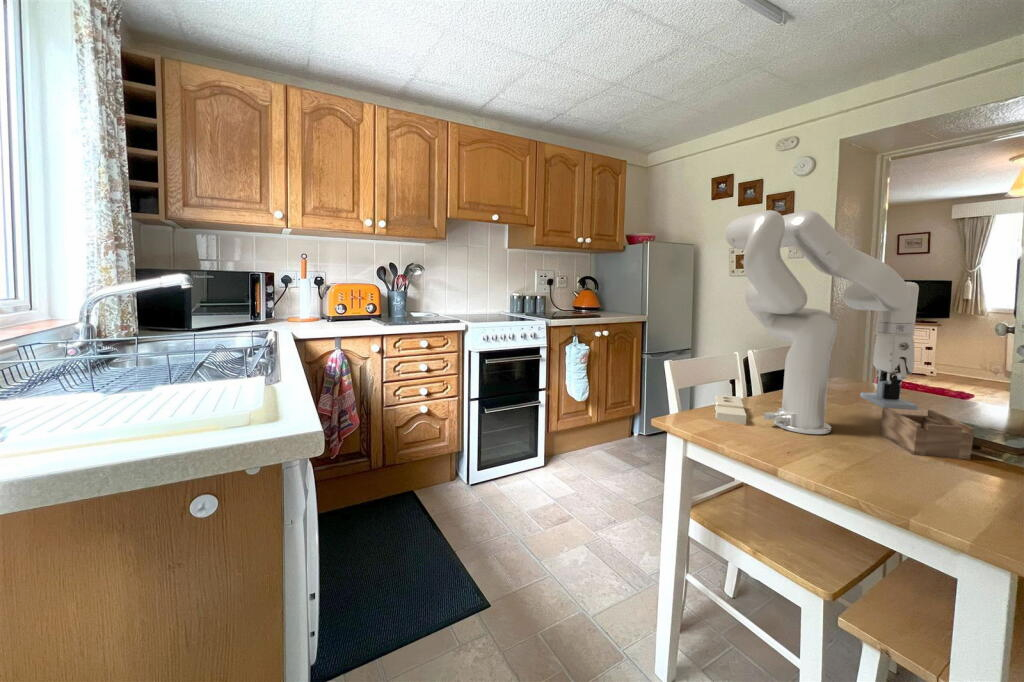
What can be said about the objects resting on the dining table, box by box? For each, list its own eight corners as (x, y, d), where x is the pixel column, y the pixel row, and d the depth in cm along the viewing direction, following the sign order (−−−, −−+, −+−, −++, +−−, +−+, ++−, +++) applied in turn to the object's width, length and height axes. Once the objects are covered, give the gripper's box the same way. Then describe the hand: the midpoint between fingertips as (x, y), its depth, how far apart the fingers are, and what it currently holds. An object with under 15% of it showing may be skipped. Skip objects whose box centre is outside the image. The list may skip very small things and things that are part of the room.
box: (970, 459, 92) (974, 428, 91) (913, 454, 95) (917, 424, 94) (928, 437, 106) (931, 410, 105) (879, 433, 108) (882, 407, 108)
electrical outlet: (717, 409, 118) (715, 394, 135) (716, 423, 119) (714, 406, 135) (746, 412, 115) (741, 396, 132) (745, 426, 116) (740, 409, 132)
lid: (917, 410, 108) (919, 388, 107) (882, 408, 110) (885, 386, 109) (890, 398, 119) (893, 378, 119) (860, 396, 121) (862, 376, 121)
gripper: (932, 332, 103) (923, 406, 106) (894, 326, 119) (887, 391, 121) (894, 332, 106) (887, 404, 108) (862, 326, 121) (856, 389, 123)
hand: (887, 396), depth 115 cm, fingers closed on lid, 2 cm apart
